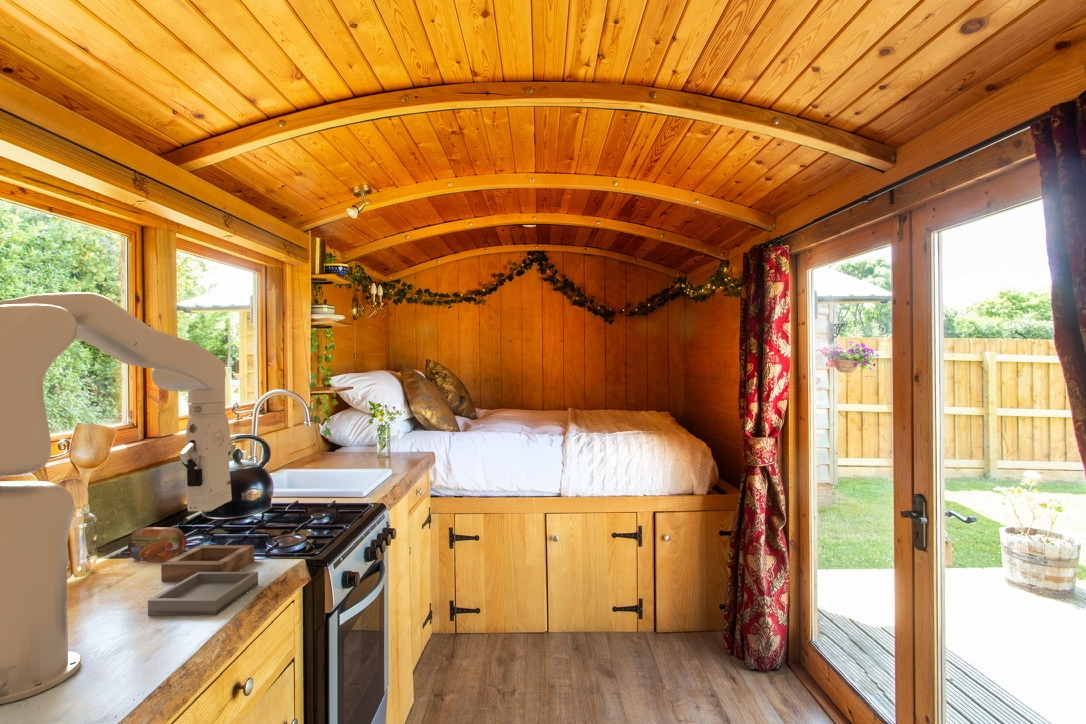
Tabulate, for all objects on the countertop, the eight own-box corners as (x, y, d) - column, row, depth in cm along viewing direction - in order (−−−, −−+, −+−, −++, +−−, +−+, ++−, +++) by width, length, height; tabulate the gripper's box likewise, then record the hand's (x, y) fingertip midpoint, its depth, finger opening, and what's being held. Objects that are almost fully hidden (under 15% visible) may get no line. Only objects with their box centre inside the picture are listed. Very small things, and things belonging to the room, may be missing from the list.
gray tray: (215, 615, 101) (215, 600, 101) (148, 615, 102) (147, 600, 102) (258, 585, 115) (258, 571, 115) (198, 585, 116) (198, 571, 116)
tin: (126, 561, 131) (126, 528, 132) (138, 556, 135) (137, 524, 135) (178, 563, 129) (178, 530, 129) (188, 558, 132) (188, 526, 133)
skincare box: (210, 512, 120) (206, 450, 119) (185, 512, 121) (181, 450, 119) (233, 499, 129) (229, 441, 128) (210, 500, 129) (206, 442, 128)
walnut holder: (221, 581, 118) (221, 564, 118) (161, 581, 118) (161, 564, 118) (254, 560, 130) (254, 545, 130) (199, 560, 131) (199, 545, 131)
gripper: (196, 413, 115) (197, 490, 115) (244, 407, 133) (245, 474, 132) (164, 413, 116) (165, 490, 115) (216, 407, 133) (217, 474, 133)
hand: (208, 481), depth 124 cm, fingers closed on skincare box, 8 cm apart
